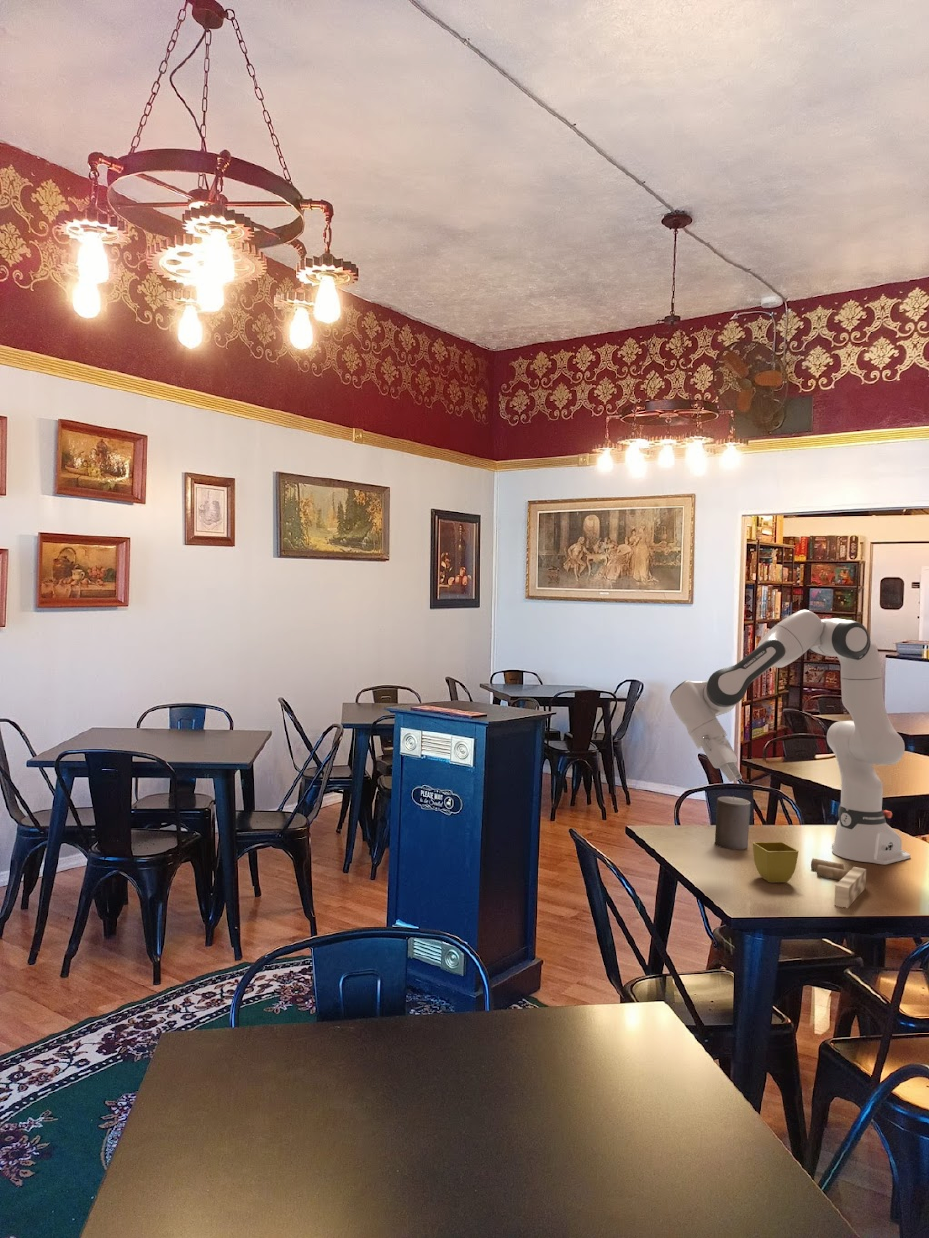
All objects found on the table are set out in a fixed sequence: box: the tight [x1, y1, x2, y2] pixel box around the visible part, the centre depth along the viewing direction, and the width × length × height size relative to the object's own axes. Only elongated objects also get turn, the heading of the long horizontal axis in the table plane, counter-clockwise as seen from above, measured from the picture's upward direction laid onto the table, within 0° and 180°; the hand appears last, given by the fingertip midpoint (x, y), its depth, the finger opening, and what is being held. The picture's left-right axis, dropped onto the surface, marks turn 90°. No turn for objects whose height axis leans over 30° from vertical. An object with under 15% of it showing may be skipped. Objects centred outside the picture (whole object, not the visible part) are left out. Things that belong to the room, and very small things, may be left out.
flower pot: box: [752, 841, 799, 884], centre depth 234 cm, size 9×9×9 cm
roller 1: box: [810, 857, 845, 871], centre depth 243 cm, size 8×3×3 cm, turn 54°
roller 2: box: [816, 865, 850, 881], centre depth 237 cm, size 8×3×3 cm, turn 54°
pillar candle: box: [714, 795, 751, 850], centre depth 266 cm, size 10×10×15 cm
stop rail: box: [834, 866, 867, 909], centre depth 223 cm, size 20×3×5 cm, turn 144°
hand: (736, 779), depth 240 cm, fingers open, 8 cm apart
